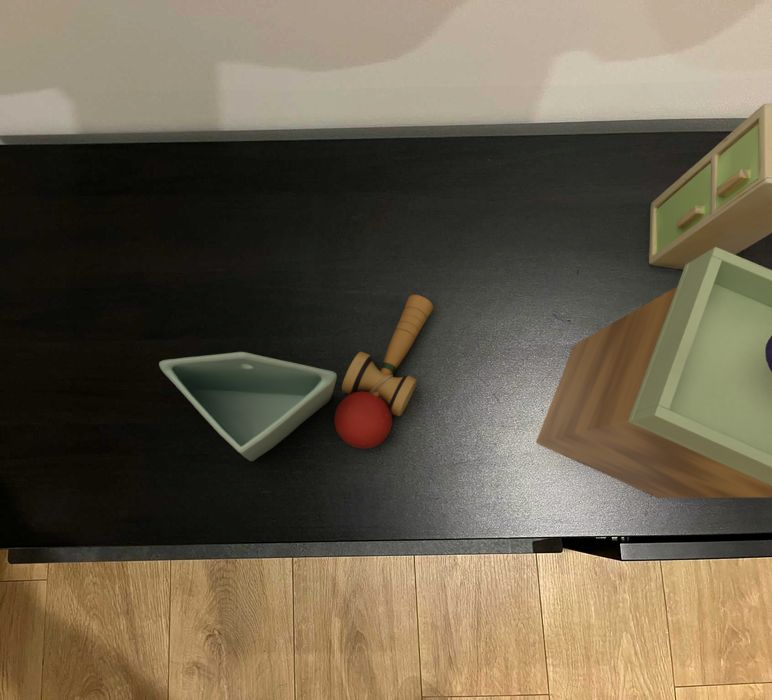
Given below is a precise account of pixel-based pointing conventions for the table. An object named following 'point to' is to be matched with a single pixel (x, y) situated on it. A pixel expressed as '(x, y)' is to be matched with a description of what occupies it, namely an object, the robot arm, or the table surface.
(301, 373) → the planter
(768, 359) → the toy lamp
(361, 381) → the kendama
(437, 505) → the table surface
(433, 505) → the table surface
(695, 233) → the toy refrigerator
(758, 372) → the box
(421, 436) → the table surface
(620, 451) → the stand
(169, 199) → the table surface
